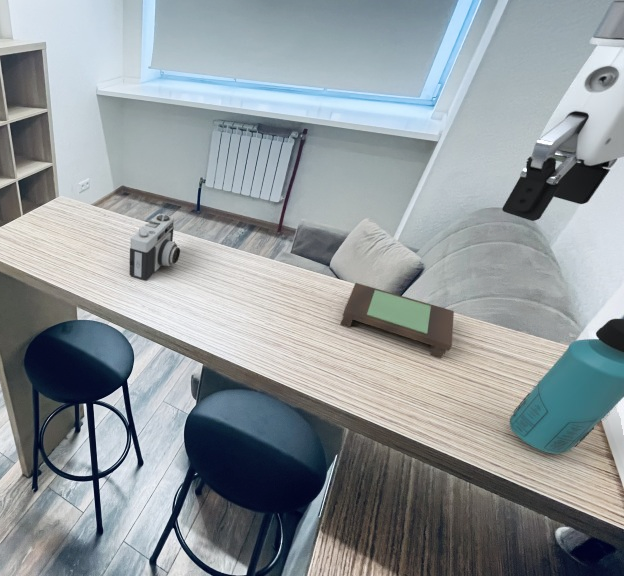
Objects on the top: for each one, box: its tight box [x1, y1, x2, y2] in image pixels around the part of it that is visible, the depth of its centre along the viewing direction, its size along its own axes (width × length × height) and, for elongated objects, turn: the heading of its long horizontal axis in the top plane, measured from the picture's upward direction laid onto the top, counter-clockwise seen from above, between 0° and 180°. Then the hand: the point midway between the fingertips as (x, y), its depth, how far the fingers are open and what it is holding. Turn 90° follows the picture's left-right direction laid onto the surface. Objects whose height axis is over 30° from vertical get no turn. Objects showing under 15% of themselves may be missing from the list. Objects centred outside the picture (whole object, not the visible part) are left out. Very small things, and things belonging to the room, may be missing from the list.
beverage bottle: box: [509, 318, 624, 455], centre depth 50 cm, size 6×7×20 cm
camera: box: [129, 213, 181, 281], centre depth 90 cm, size 14×8×10 cm, turn 149°
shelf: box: [340, 282, 455, 359], centre depth 74 cm, size 16×11×4 cm
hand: (544, 207), depth 46 cm, fingers open, 9 cm apart
